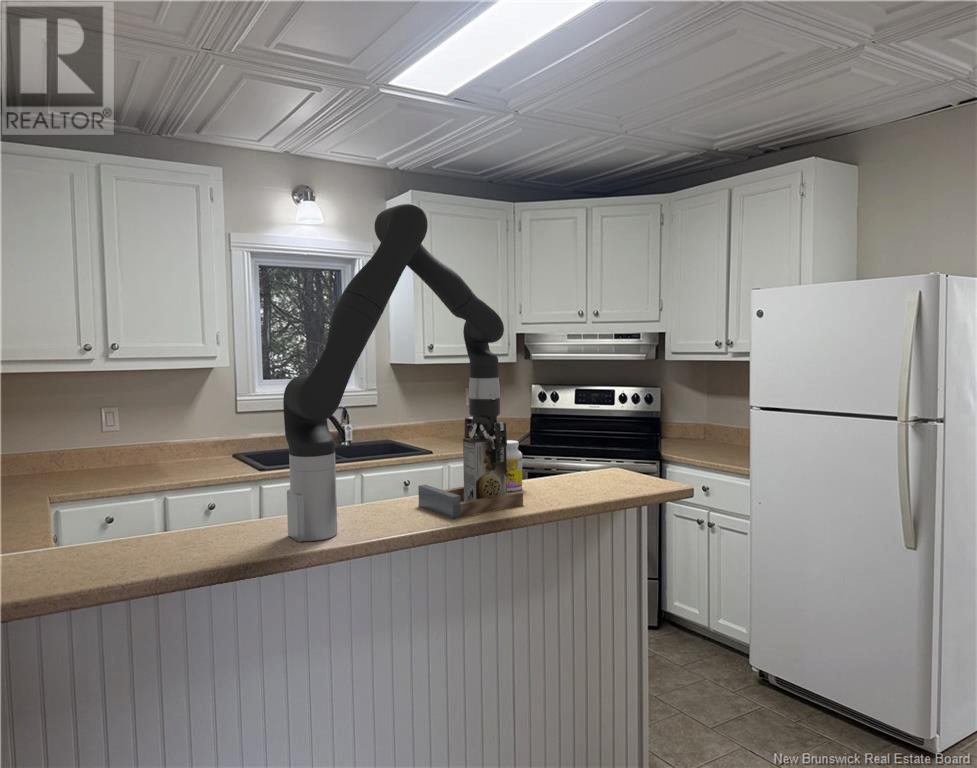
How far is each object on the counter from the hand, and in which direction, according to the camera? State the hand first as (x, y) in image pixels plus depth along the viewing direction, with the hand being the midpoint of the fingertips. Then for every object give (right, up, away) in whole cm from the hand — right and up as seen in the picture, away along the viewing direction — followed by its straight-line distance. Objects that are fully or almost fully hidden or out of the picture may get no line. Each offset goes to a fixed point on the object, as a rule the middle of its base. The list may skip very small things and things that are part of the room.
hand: (485, 462), depth 168 cm
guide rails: (-3, -10, -1) cm, 11 cm away
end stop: (-11, -11, -7) cm, 17 cm away
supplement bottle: (+6, -9, +15) cm, 19 cm away
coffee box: (0, -10, +1) cm, 10 cm away
